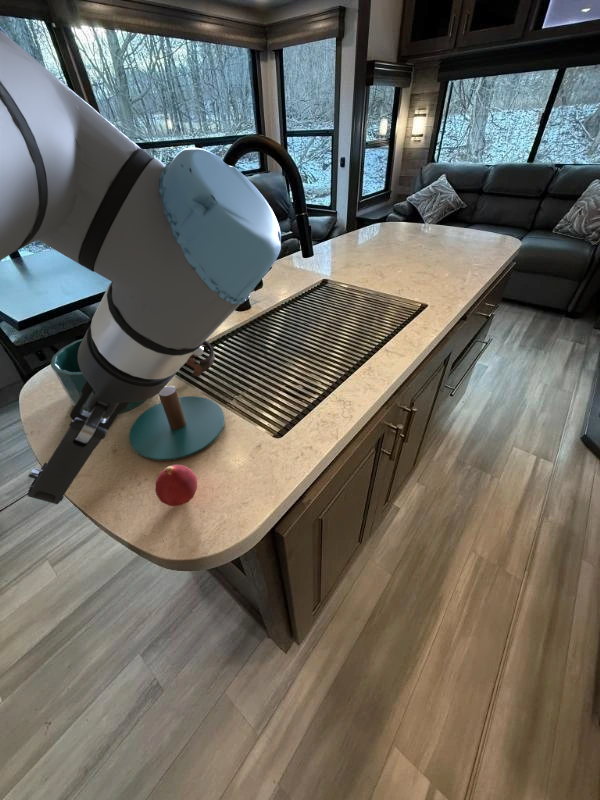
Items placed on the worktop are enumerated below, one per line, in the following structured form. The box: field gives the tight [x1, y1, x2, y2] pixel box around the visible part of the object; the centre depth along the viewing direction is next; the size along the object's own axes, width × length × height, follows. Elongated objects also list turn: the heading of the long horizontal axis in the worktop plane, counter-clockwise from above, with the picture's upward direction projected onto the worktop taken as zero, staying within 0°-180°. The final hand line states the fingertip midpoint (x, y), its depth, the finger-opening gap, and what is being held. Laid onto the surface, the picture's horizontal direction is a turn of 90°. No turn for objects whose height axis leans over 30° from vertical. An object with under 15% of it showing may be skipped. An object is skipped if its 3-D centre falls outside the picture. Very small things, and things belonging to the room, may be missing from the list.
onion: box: [154, 464, 198, 507], centre depth 49 cm, size 6×6×8 cm
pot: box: [50, 338, 147, 415], centre depth 71 cm, size 17×22×10 cm
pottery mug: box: [185, 339, 215, 377], centre depth 79 cm, size 12×10×8 cm
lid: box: [128, 385, 226, 462], centre depth 62 cm, size 18×18×9 cm
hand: (74, 437), depth 41 cm, fingers open, 13 cm apart
